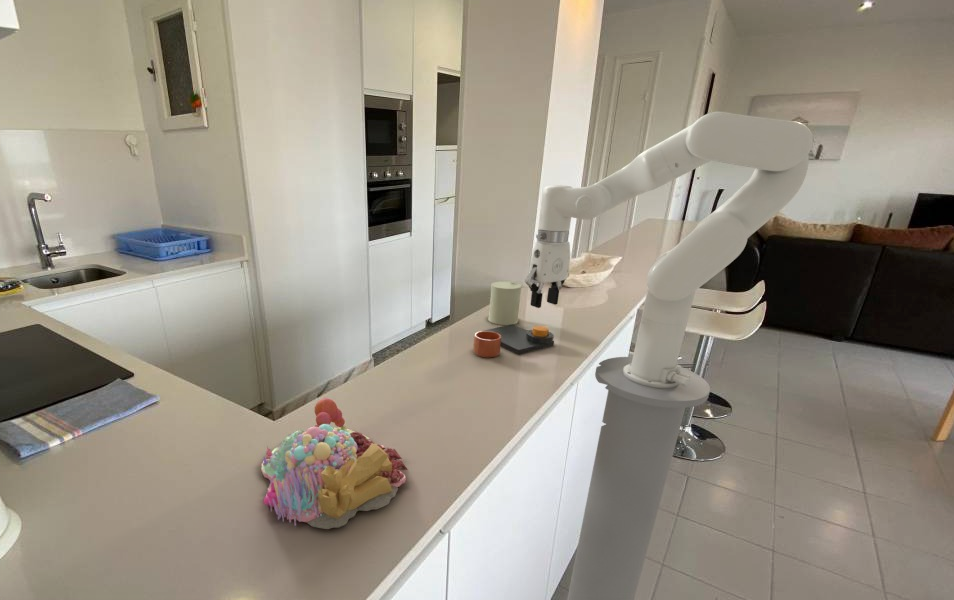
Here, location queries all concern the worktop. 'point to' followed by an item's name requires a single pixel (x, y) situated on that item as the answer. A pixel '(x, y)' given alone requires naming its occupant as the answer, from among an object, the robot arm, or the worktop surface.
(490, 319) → the can
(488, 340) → the bowl
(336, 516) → the dessert platter
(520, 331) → the scale
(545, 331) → the button
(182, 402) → the worktop surface
